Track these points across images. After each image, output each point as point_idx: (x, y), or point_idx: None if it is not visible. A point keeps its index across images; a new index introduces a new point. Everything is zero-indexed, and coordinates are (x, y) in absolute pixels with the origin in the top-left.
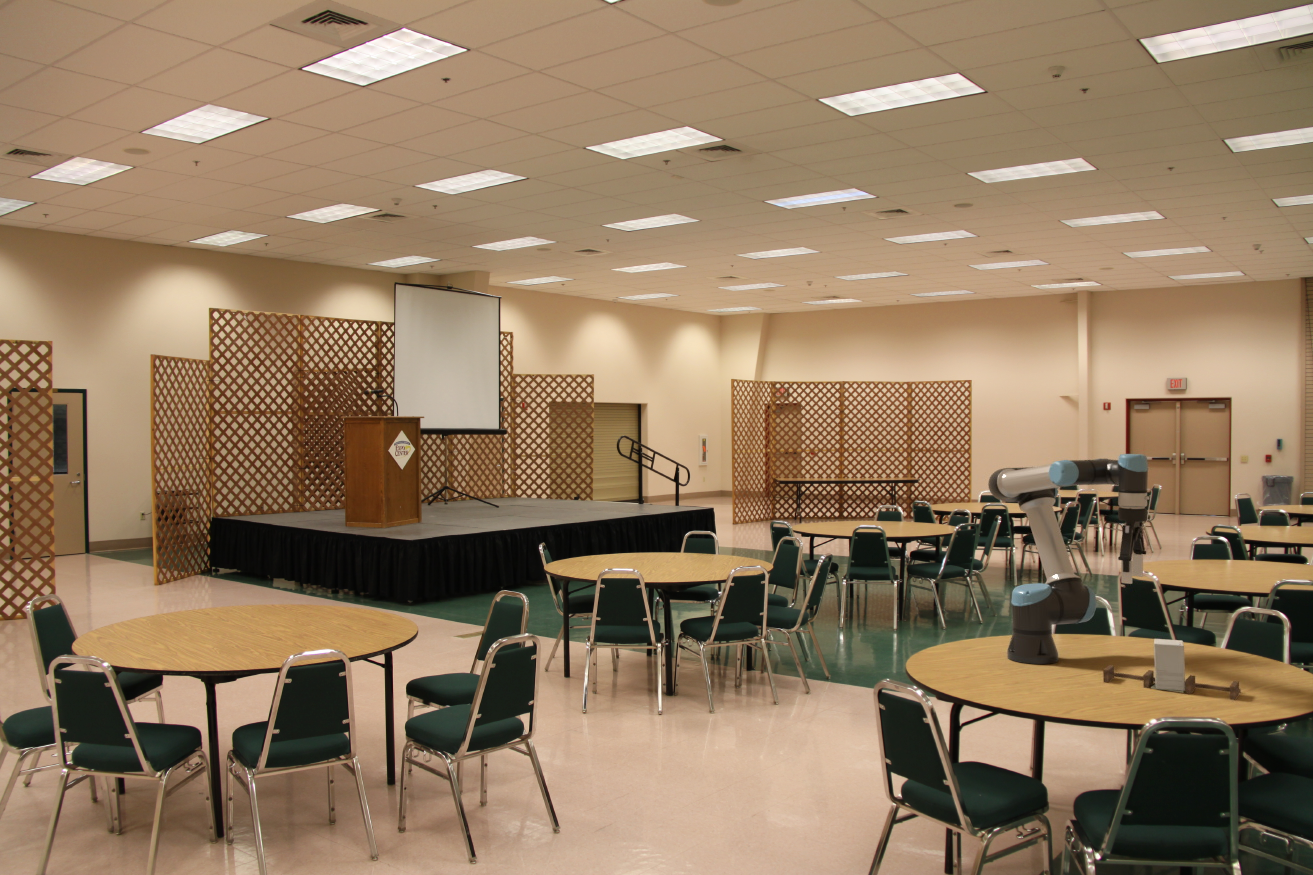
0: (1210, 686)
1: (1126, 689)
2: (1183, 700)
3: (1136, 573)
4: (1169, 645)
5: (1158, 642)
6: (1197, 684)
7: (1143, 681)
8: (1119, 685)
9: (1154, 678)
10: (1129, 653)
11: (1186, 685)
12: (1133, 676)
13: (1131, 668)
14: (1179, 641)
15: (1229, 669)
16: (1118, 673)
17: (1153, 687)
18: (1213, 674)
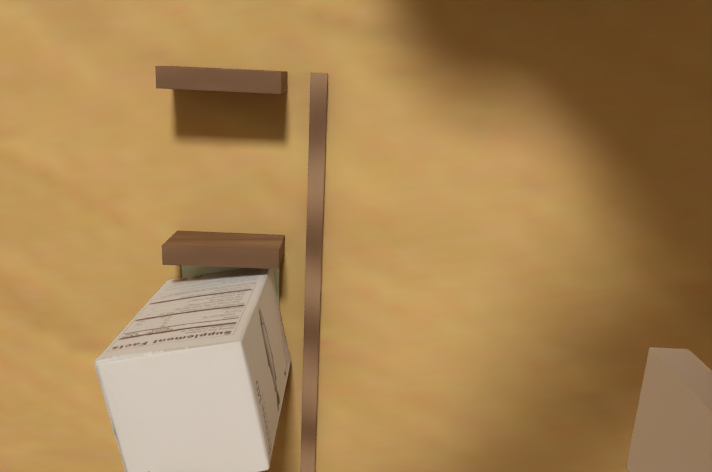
0: (301, 443)
1: (99, 177)
2: (65, 381)
3: (660, 422)
4: (114, 428)
5: (134, 377)
6: (302, 403)
7: (170, 237)
8: (152, 139)
9: (306, 255)
10: None
11: None
12: (309, 171)
13: (517, 125)
14: (226, 462)
15: None
16: (311, 106)
17: (183, 267)
18: (562, 420)
